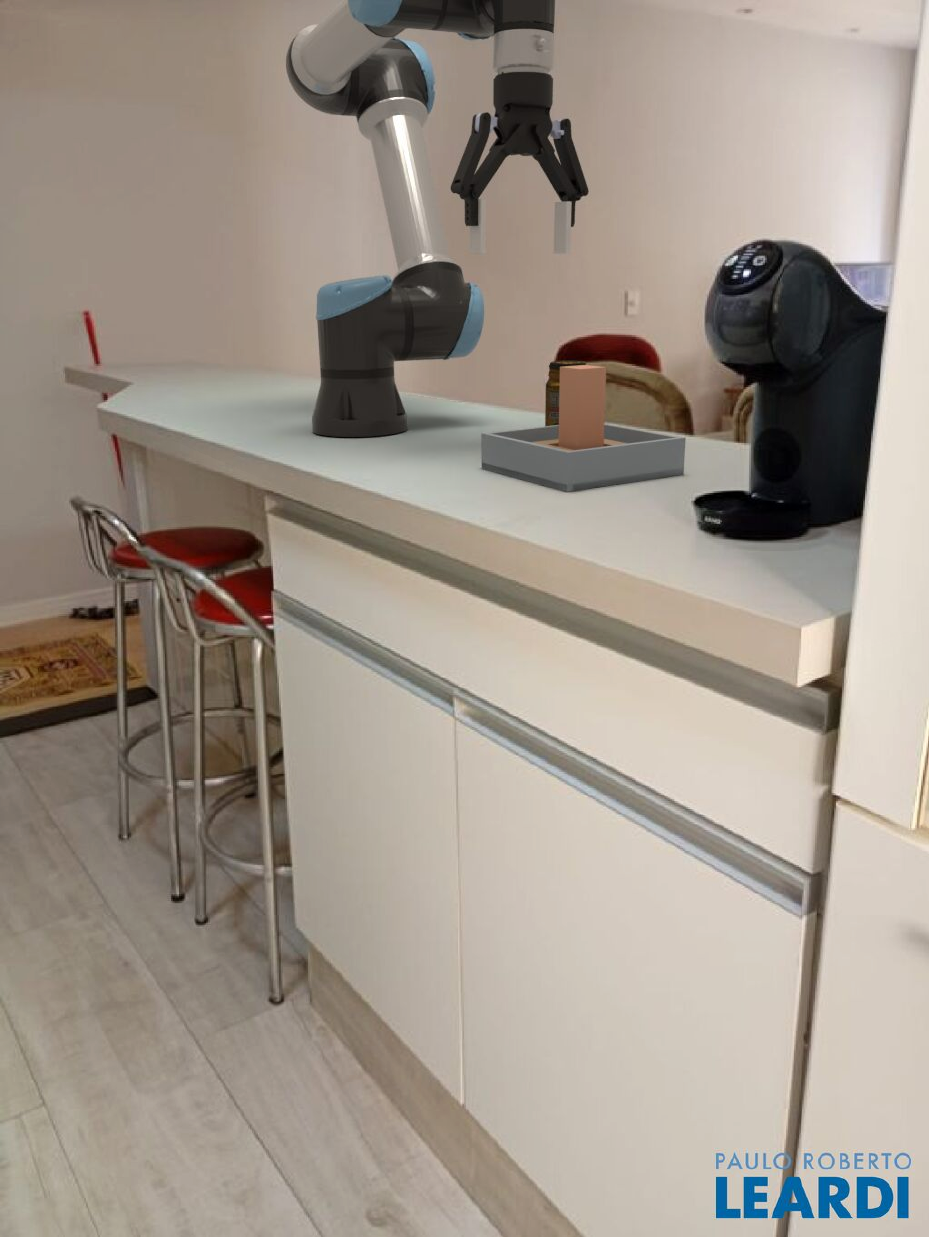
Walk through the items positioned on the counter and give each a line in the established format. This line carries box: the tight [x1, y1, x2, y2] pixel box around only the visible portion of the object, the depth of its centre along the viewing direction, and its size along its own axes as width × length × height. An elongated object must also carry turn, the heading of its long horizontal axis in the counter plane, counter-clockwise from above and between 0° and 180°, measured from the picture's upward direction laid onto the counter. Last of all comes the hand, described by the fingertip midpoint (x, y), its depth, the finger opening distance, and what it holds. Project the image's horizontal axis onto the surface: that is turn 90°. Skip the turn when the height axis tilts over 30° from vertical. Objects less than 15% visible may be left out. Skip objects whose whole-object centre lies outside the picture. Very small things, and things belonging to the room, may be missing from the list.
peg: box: [558, 364, 607, 450], centre depth 124 cm, size 4×4×12 cm
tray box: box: [480, 423, 687, 493], centre depth 126 cm, size 18×18×4 cm
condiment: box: [544, 360, 587, 426], centre depth 142 cm, size 7×8×12 cm
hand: (520, 254), depth 134 cm, fingers open, 13 cm apart
